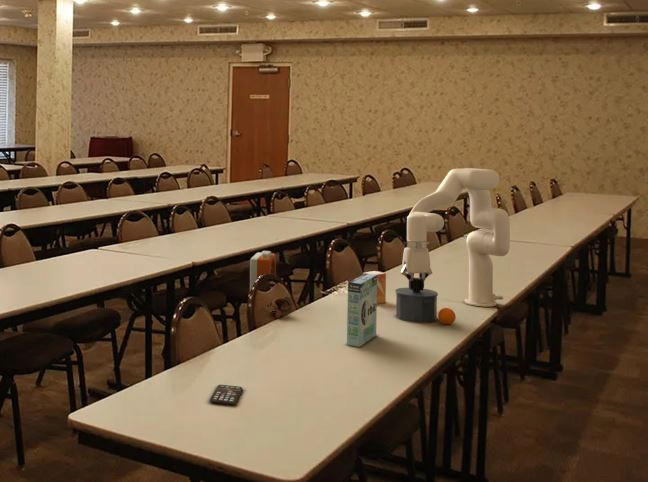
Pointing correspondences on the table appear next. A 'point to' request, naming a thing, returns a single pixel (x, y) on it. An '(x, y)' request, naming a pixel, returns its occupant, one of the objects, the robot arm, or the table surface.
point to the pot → (416, 308)
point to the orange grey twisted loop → (278, 308)
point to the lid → (416, 291)
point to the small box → (380, 286)
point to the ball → (446, 316)
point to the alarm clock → (262, 265)
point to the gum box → (361, 309)
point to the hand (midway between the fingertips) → (416, 289)
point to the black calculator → (226, 394)
